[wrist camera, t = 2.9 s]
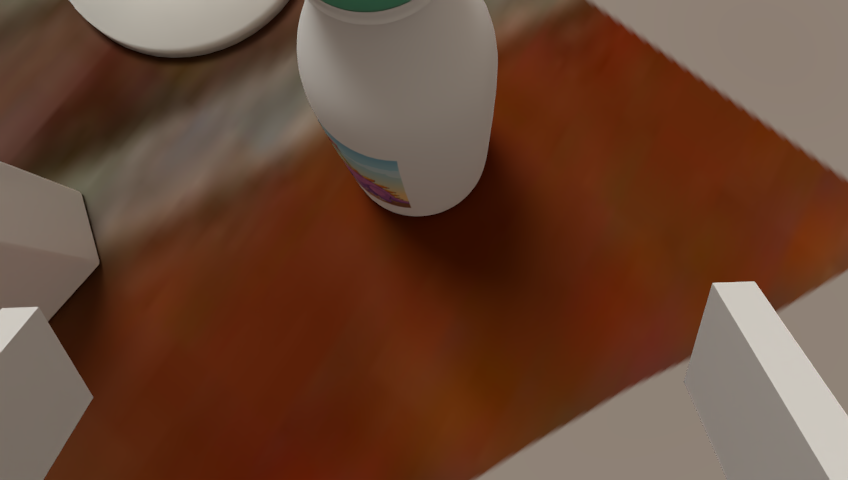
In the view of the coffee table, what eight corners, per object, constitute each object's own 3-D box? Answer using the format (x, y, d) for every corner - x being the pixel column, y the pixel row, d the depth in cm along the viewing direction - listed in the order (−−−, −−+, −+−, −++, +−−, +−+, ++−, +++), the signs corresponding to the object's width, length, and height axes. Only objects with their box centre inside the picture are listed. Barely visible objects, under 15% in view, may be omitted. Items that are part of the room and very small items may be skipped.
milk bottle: (466, 74, 34) (475, -290, 14) (503, 198, 32) (569, -13, 13) (339, 109, 34) (171, -204, 14) (370, 234, 33) (233, 79, 13)
